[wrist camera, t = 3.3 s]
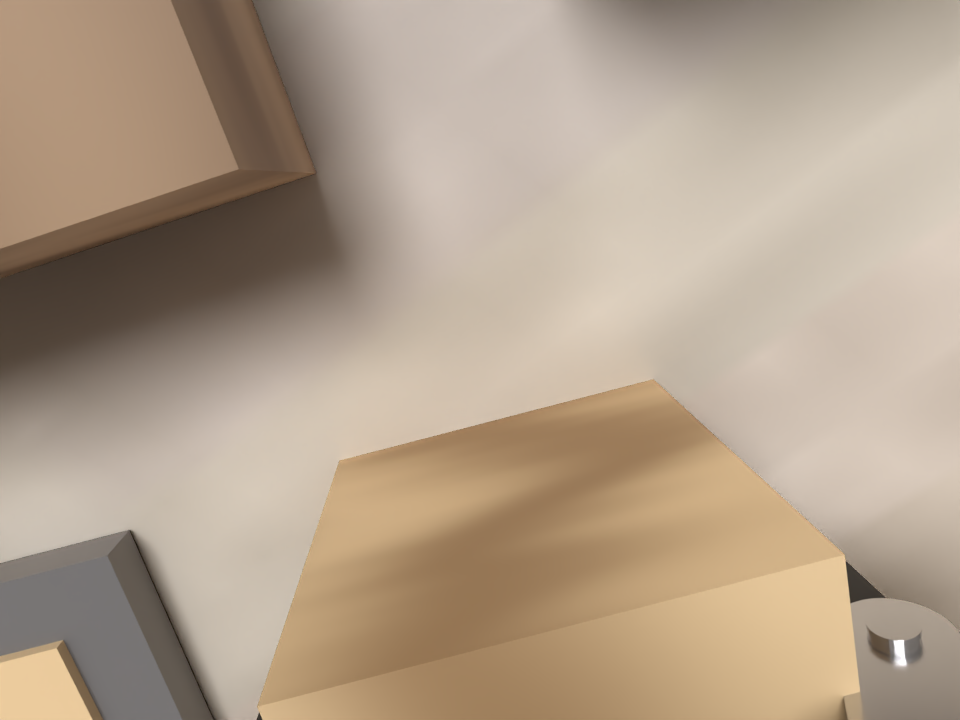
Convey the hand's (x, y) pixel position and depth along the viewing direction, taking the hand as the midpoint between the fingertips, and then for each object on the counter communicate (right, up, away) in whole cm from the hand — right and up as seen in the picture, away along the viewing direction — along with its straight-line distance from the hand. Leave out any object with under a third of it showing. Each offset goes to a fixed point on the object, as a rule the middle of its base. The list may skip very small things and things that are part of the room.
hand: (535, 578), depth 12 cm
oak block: (0, 0, +1) cm, 1 cm away
